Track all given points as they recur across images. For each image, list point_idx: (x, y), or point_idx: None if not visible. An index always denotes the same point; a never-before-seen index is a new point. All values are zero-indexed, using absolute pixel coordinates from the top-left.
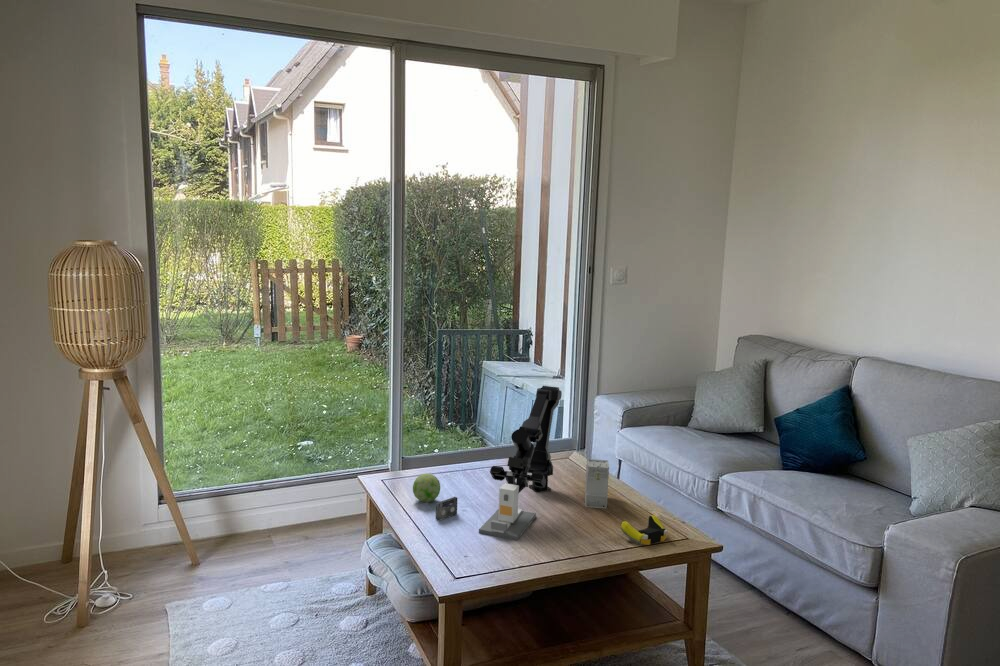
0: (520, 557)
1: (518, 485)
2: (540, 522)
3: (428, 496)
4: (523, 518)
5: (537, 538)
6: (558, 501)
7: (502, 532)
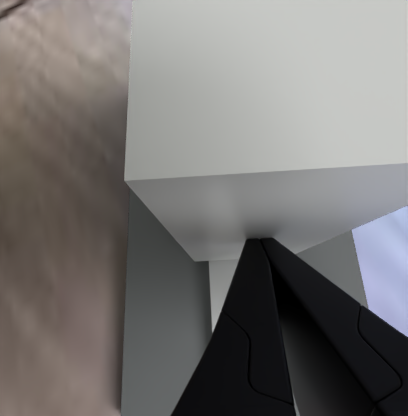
0: (88, 7)
1: (136, 182)
2: (82, 341)
3: None
4: (170, 300)
5: (60, 156)
6: None
7: None
